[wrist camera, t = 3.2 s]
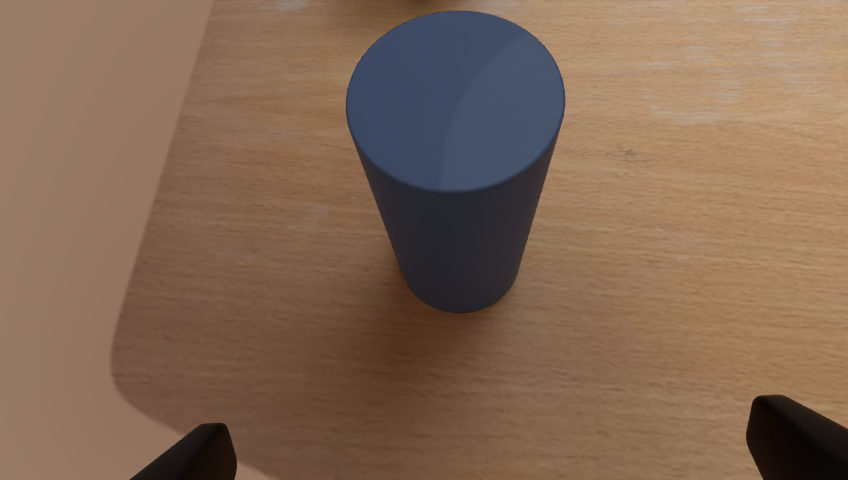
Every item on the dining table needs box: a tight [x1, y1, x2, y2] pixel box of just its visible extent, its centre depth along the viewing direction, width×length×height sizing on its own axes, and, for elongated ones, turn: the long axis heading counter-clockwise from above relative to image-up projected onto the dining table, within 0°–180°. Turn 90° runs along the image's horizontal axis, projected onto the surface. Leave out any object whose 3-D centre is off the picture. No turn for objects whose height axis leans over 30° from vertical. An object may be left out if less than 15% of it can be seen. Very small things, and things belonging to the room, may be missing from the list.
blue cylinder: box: [346, 11, 565, 313], centre depth 19 cm, size 6×6×12 cm
